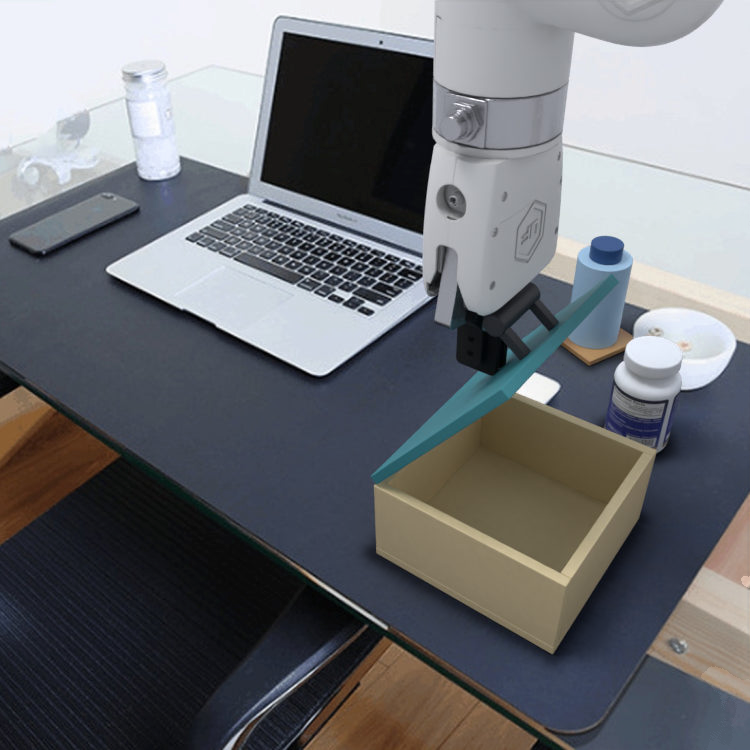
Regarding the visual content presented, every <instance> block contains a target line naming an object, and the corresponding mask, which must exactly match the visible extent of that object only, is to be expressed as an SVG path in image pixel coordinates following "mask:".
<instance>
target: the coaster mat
mask: <svg viewBox="0 0 750 750" xmlns="http://www.w3.org/2000/svg"><path fill="white" fill-rule="evenodd" d="M633 336H634V335H632V334H630V333H629V332H628V331H626V330H624V329H623V328H621V327H620V329H619V334H618V339H617V341H616V343H615V344H614V345H612V346H610V347H608V348H604V349H588V348H584V347H581V346H578V345H576V344H575V343H573V342H572V341H571V340H570V339H569V338H568V337H567V338H566V340H565V341H564V342H563V343H562V344H561V345H560V346H561V347H563V348H564V349H565V350H567V351H568V352H569V353H571V354H572V355H573V356H575V357H576V358H577V359H579V360H580V361H582V362H583V363H585V364H586V365H587V366H588V367H590V366H592V365H595V364H598V363H600V362H601V361H604V360H606V359H609V358H611V357H613V356H616V355H618V354H621V353H622V352H625V349H626V346H627V344H628V343H629V342H630V341H631V340H633Z"/></svg>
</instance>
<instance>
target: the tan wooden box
mask: <svg viewBox="0 0 750 750" xmlns="http://www.w3.org/2000/svg"><path fill="white" fill-rule="evenodd" d="M656 452H657V450H655V449H652V448H650V447H647V446H645V445H643V444H640V443H638V442H635V441H633V440H630V439H628V438H626V437H623V436H621V435H618V434H616V433H613V432H611V431H608V430H606V429H604V427H601V426H598V425H597V424H594V423H591V422H589V421H586V420H584V419H582V418H579V417H577V416H574V415H572V414H569V413H567V412H565V411H563V410H560V409H557V408H556V407H555V408H554V407H553V406H550V405H547V404H545V403H542V402H540V401H538V400H535V399H533V398H530V397H528V396H525V395H523V394H520V393H518V392H516V393H515V394H514V395H513V396H512V397H511V398H510V399H509V400H508V401H506V402H505V403H503V404H501V405H500V406H498V407H497V408H495V409H494V410H492V411H491V412H489V413H487V414H486V415H484V416H483V417H481V418H480V419H478V420H477V421H475V422H474V423H472V424H470V425H469V426H467V427H466V428H464V429H463V430H461V431H460V432H458V433H456V434H455V435H453V436H452V437H450V438H449V439H447V440H446V441H444V442H443V443H441V444H439V445H438V446H436V447H435V448H433V449H432V450H430V451H429V452H427V453H425V454H424V455H422V456H421V457H419V458H418V459H416V460H415V461H413V462H412V463H410V464H408V465H407V466H405V467H404V468H402V469H401V470H399V471H398V472H396V473H394V474H393V475H391V476H390V477H388V478H387V479H385V480H384V481H382V482H381V483H379V484H376V483H375V484H374V485H373V493H374V495H373V496H374V497H373V498H374V524H375V527H374V528H375V549H376V551H375V553H376V555H379V556H381V557H382V558H384V559H385V560H388V561H390V562H391V563H392V564H394V565H396V566H397V567H399V568H401V569H403V570H405V571H406V572H408V573H410V574H411V575H413V576H414V577H417V578H419V579H420V580H422V581H424V582H426V583H428V584H429V585H431V586H433V587H434V588H435V589H438V590H440V592H441V591H442V592H443V593H445V594H447V595H448V596H450V597H451V598H454V599H455V600H457V601H458V602H460V603H462V604H464V605H466V606H468V607H469V608H471V609H473V610H474V611H476V612H478V613H480V614H481V615H483V616H485V617H487V618H488V619H490V620H492V621H493V622H495V623H497V624H498V625H501V627H504V628H505V629H507V630H509V631H511V632H513V633H515V634H516V635H518V636H519V637H522V638H523V639H524V640H527V641H529V642H530V643H532V644H533V645H535V646H536V647H539V648H540V649H542V650H544V651H546V652H547V653H549V654H551V655H554V654H555V652H556V650H557V649H558V647H559V646H560V644H561V642H562V641H563V640H564V637H565V636H566V635H567V632H568V631H569V630H570V628H571V627H572V625H573V624H574V622H575V621H576V620H577V617H578V616H579V614H580V612H581V611H582V610H583V608H584V606H585V605H586V603H587V601H588V600H589V598H590V597H591V595H592V593H593V592H594V590H595V589H596V587H597V585H598V584H599V582H600V581H601V579H602V578H603V576H604V574H605V573H606V571H607V570H608V568H609V567H610V565H611V564H612V562H613V561H614V559H615V557H616V555H617V554H618V552H619V551H620V549H621V548H622V546H623V545H624V543H625V541H626V540H627V538H628V537H629V535H630V533H631V532H632V530H633V528H634V527H635V526H636V524H637V522H638V520H639V519H640V515H641V512H642V510H643V509H642V508H643V505H644V501H645V497H646V494H647V490H648V486H649V483H650V479H651V475H652V471H653V467H654V463H655V459H656V455H657V453H656Z"/></svg>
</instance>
